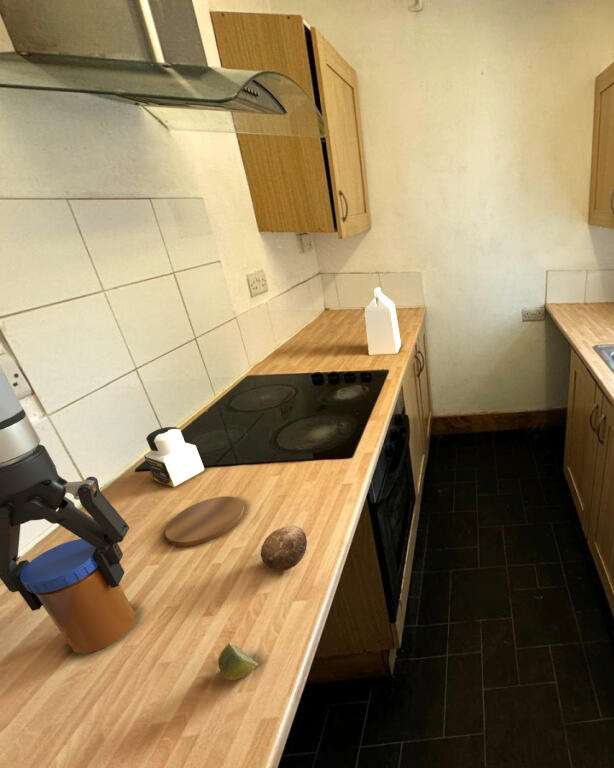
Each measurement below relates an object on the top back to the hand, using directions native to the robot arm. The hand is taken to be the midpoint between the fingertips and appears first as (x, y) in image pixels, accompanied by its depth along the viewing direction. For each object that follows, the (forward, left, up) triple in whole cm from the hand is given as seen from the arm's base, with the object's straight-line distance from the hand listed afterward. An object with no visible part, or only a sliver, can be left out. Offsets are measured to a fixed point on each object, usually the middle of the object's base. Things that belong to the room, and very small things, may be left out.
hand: (80, 590), depth 59 cm
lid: (0, 0, +6) cm, 6 cm away
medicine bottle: (-20, +37, -9) cm, 43 cm away
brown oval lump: (+20, +15, -9) cm, 26 cm away
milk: (-4, +127, -9) cm, 128 cm away
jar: (0, 0, -8) cm, 8 cm away
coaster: (-2, +23, -8) cm, 25 cm away
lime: (+25, -4, -9) cm, 27 cm away
